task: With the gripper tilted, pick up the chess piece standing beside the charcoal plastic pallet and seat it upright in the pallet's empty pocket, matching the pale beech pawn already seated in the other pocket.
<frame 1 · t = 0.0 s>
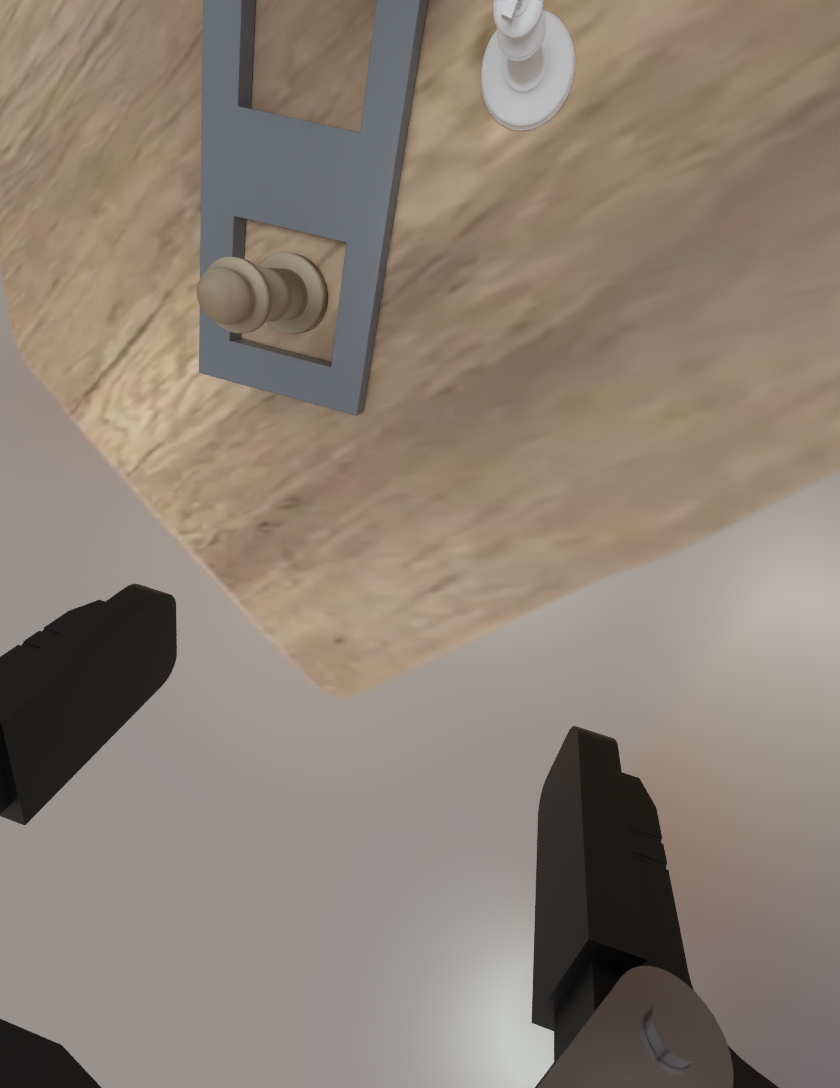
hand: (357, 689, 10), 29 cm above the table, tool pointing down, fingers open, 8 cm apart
chess piece: (527, 75, 29), on the table
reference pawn: (294, 294, 36), resting in pallet
pallet: (304, 180, 33), on the table
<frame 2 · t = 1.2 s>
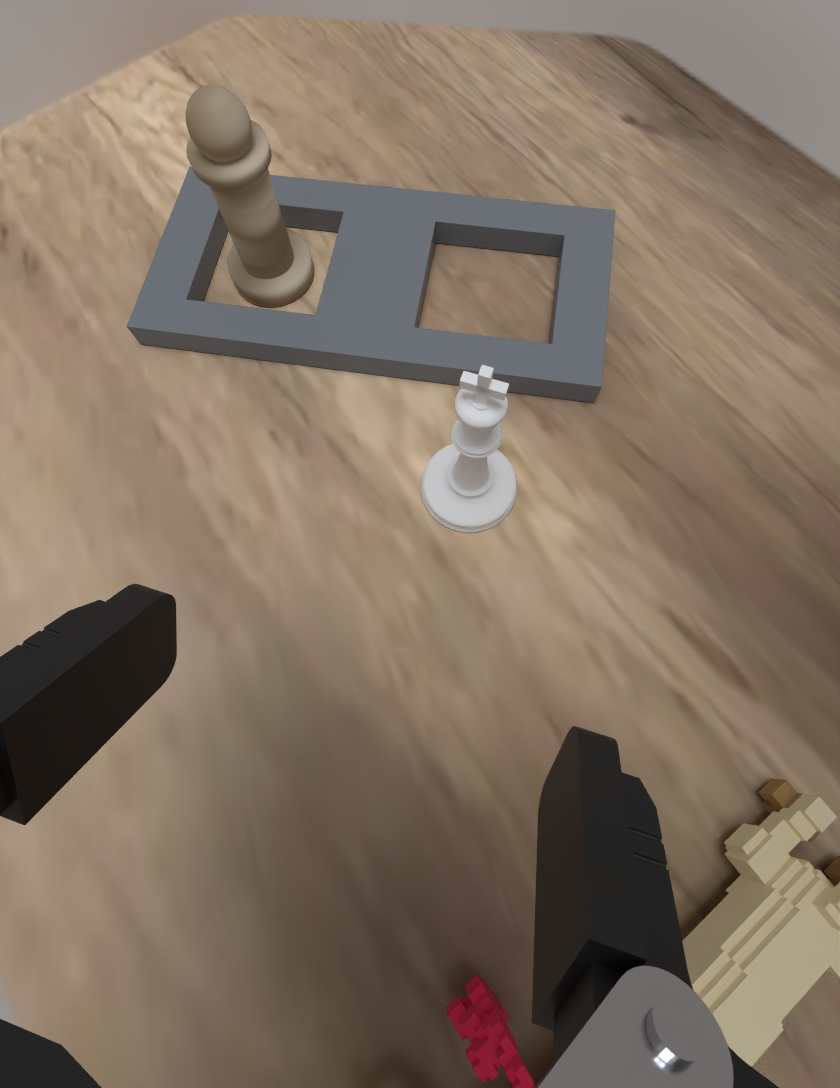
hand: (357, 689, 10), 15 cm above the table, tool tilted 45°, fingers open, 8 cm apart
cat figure: (590, 1038, 21), on the table
chess piece: (468, 489, 28), on the table
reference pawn: (274, 274, 32), resting in pallet
pallet: (379, 286, 32), on the table
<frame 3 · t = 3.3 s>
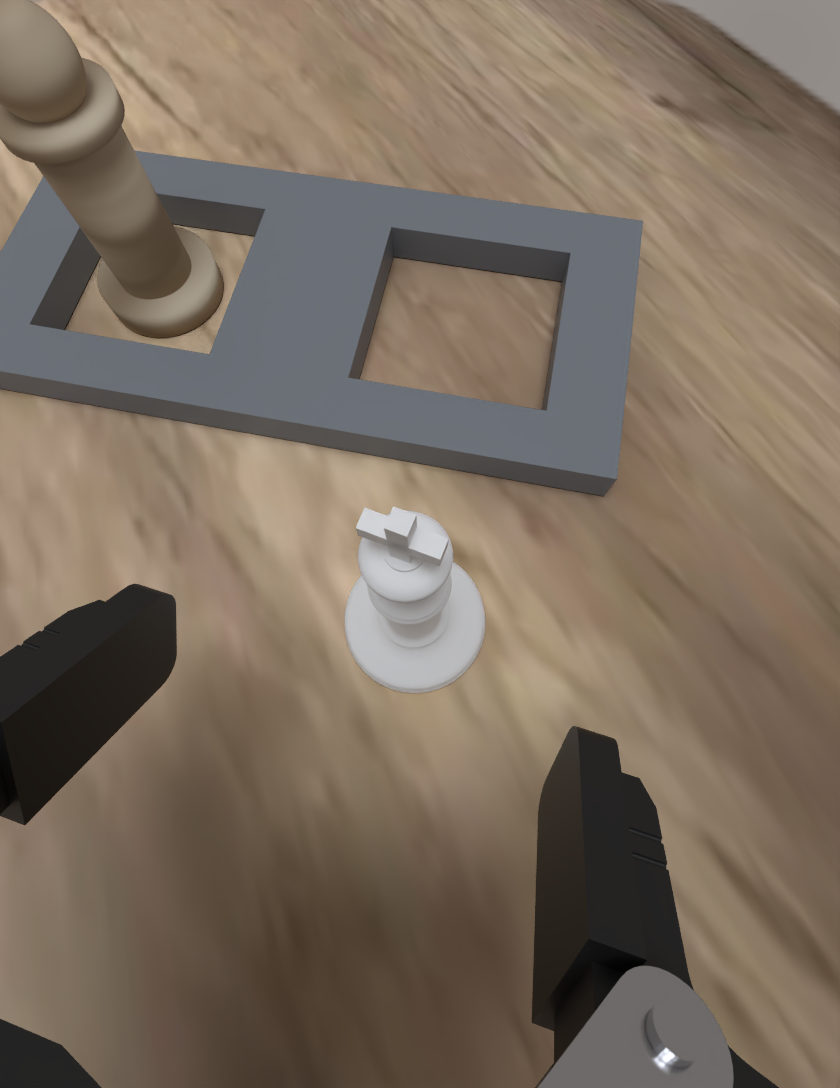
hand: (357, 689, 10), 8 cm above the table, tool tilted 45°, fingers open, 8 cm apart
chess piece: (415, 621, 19), on the table
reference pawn: (168, 292, 23), resting in pallet
pallet: (311, 314, 23), on the table
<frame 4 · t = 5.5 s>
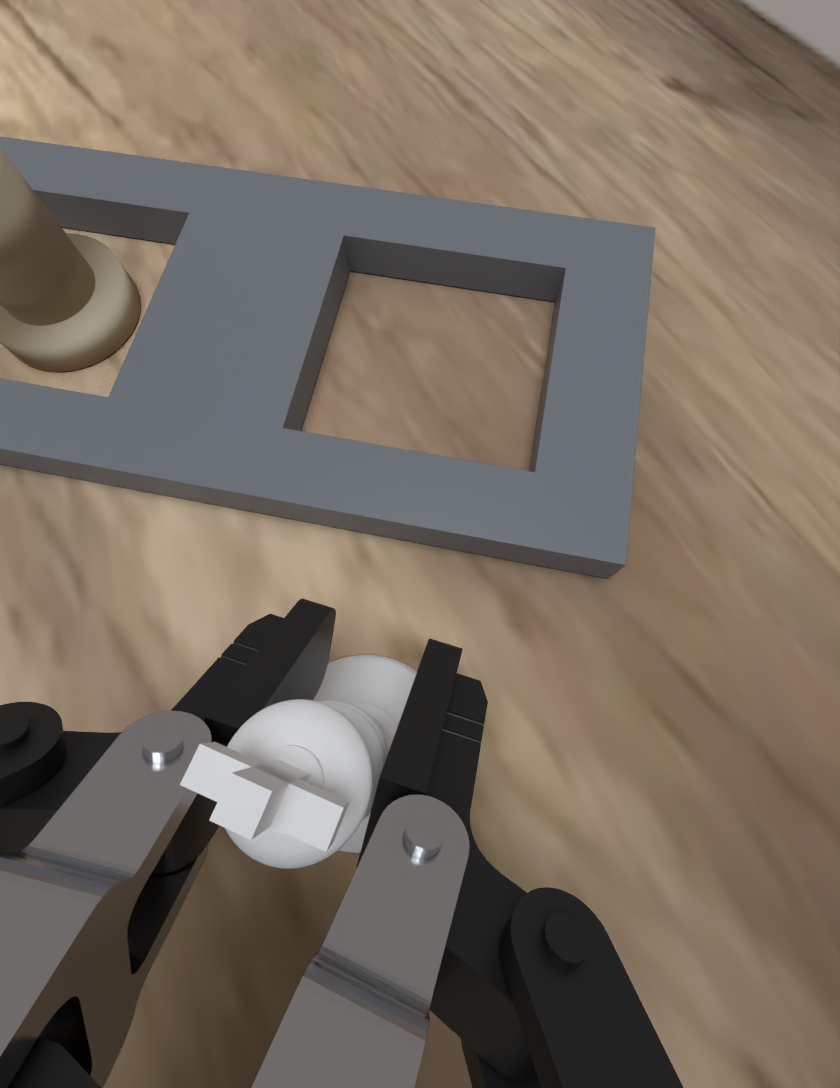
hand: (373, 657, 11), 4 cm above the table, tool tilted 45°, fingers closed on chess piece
chess piece: (364, 747, 15), on the table, touching gripper
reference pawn: (72, 314, 19), resting in pallet
pallet: (247, 343, 19), on the table
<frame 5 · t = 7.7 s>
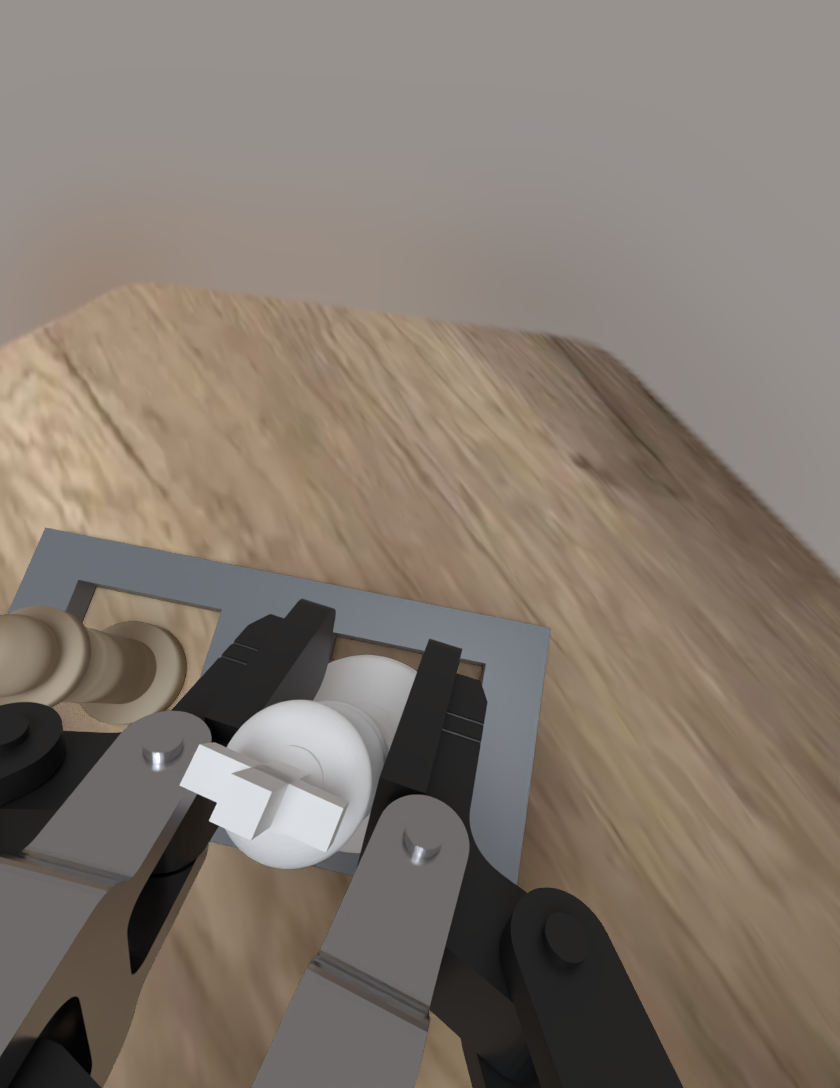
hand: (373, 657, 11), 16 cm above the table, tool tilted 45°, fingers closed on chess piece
chess piece: (364, 747, 15), point 11 cm above the table, touching gripper
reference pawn: (138, 673, 27), resting in pallet
pallet: (263, 700, 26), on the table
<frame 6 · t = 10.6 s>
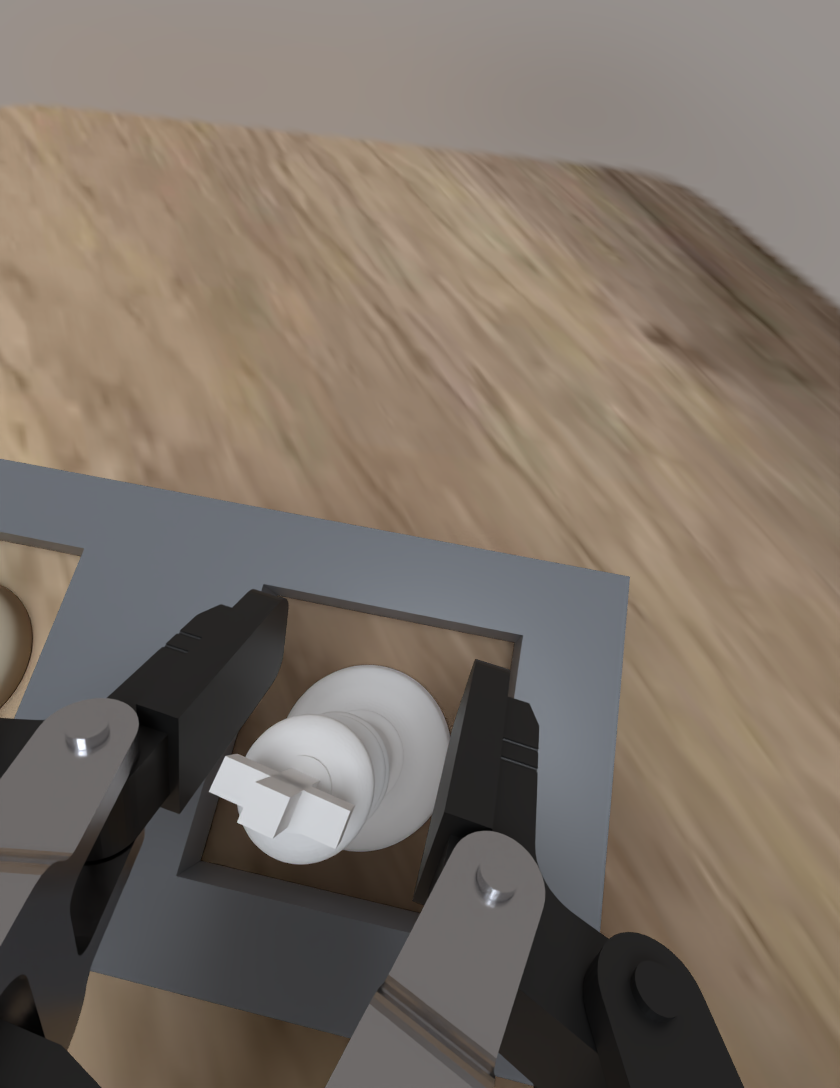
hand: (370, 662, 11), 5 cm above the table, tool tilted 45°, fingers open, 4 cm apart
chess piece: (366, 752, 16), resting in pallet
pallet: (153, 699, 16), on the table
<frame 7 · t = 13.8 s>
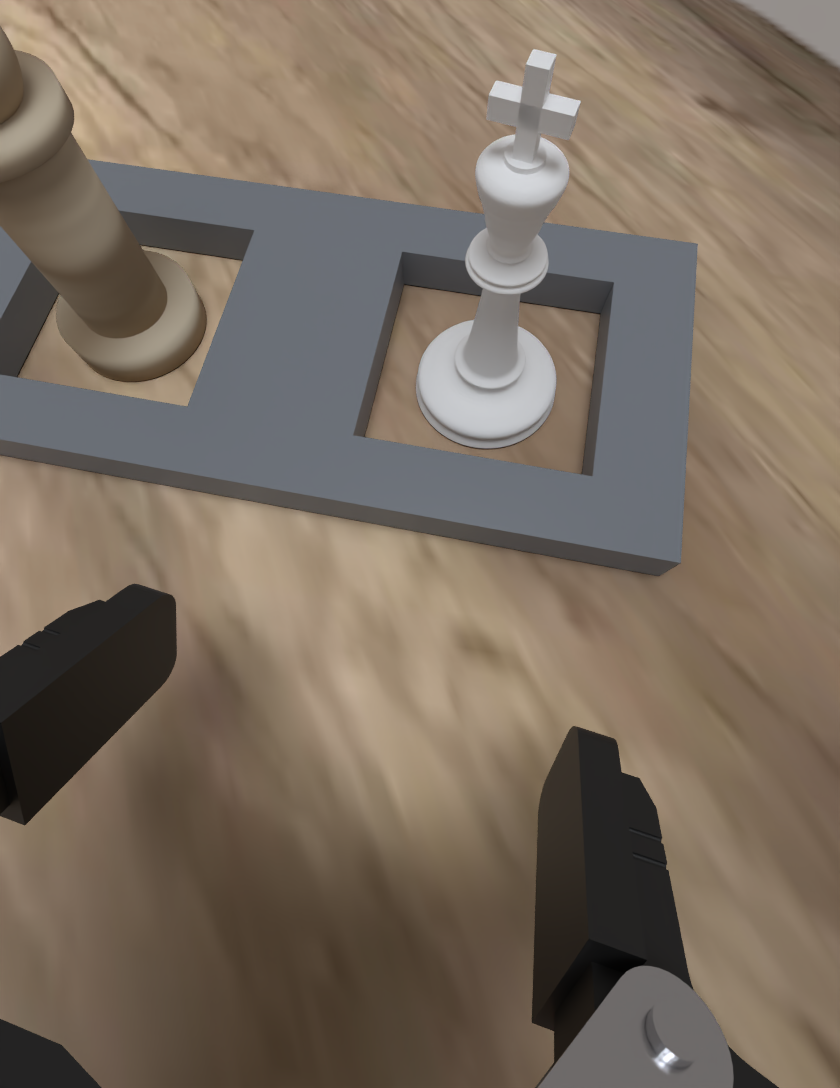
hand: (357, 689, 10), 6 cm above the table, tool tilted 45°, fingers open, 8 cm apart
chess piece: (484, 390, 19), resting in pallet
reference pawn: (142, 326, 20), resting in pallet
pallet: (309, 353, 20), on the table
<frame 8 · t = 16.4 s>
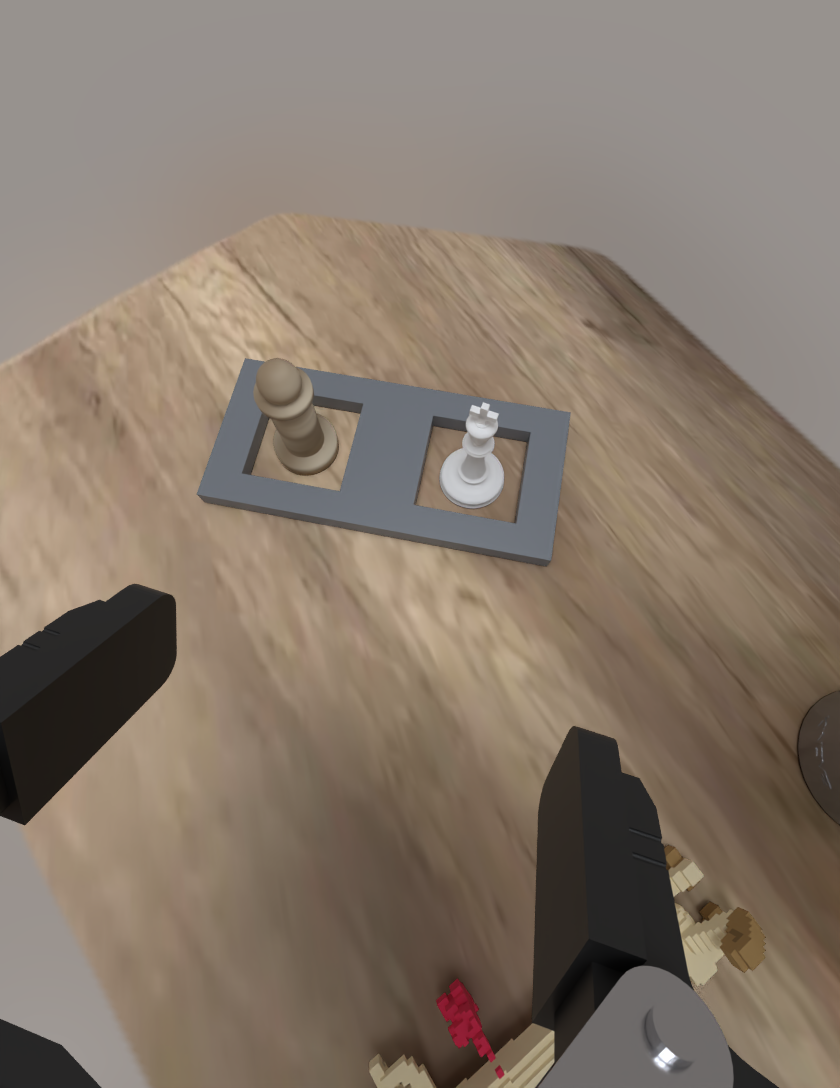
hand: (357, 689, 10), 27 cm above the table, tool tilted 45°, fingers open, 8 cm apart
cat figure: (534, 1024, 31), on the table
chess piece: (471, 479, 41), resting in pallet
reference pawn: (308, 447, 42), resting in pallet
pallet: (388, 461, 41), on the table
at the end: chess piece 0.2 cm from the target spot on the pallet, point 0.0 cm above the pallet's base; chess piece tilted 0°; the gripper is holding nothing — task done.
